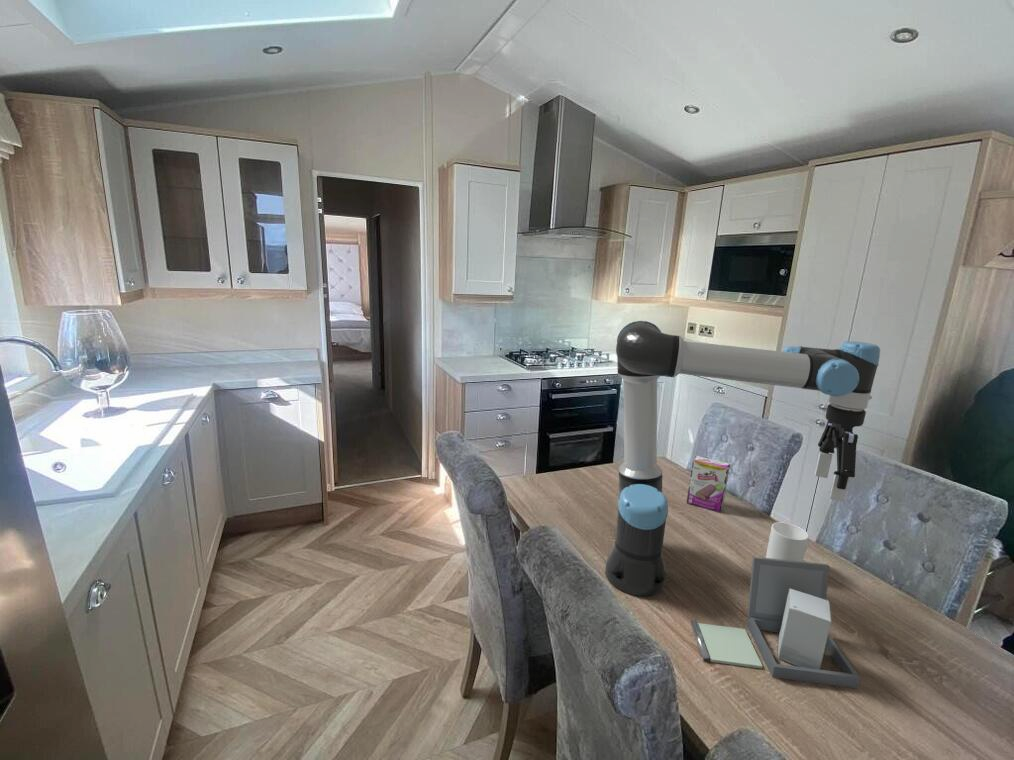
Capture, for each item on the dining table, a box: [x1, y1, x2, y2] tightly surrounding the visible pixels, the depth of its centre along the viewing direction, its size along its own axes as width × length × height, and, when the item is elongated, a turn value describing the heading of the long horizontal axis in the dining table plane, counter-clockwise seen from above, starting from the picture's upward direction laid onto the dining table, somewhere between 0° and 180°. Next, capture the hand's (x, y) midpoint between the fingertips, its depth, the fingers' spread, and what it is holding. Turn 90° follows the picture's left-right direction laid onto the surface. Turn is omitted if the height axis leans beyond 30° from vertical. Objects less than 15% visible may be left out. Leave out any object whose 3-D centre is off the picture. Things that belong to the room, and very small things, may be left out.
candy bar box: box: [686, 455, 731, 514], centre depth 156 cm, size 11×5×16 cm, turn 58°
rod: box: [690, 619, 710, 662], centre depth 100 cm, size 1×10×1 cm, turn 172°
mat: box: [697, 622, 764, 669], centre depth 99 cm, size 10×10×1 cm
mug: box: [765, 521, 810, 562], centre depth 127 cm, size 9×12×11 cm
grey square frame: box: [746, 616, 861, 689], centre depth 97 cm, size 16×14×2 cm
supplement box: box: [777, 589, 832, 670], centre depth 96 cm, size 7×7×13 cm
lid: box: [747, 556, 830, 621], centre depth 103 cm, size 16×14×1 cm
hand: (828, 487), depth 116 cm, fingers open, 13 cm apart
